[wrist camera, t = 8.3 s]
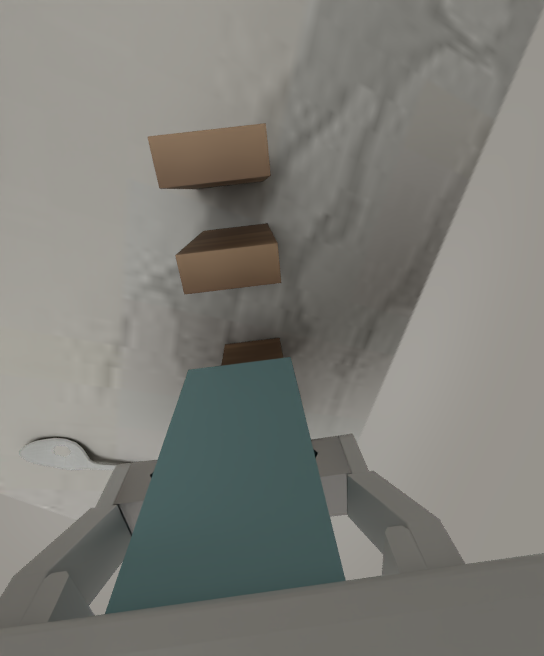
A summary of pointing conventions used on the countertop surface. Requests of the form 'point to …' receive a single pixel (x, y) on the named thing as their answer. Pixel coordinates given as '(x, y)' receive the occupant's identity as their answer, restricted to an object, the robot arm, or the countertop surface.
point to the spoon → (46, 456)
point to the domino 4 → (231, 496)
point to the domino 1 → (211, 157)
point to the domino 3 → (252, 351)
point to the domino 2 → (229, 259)
